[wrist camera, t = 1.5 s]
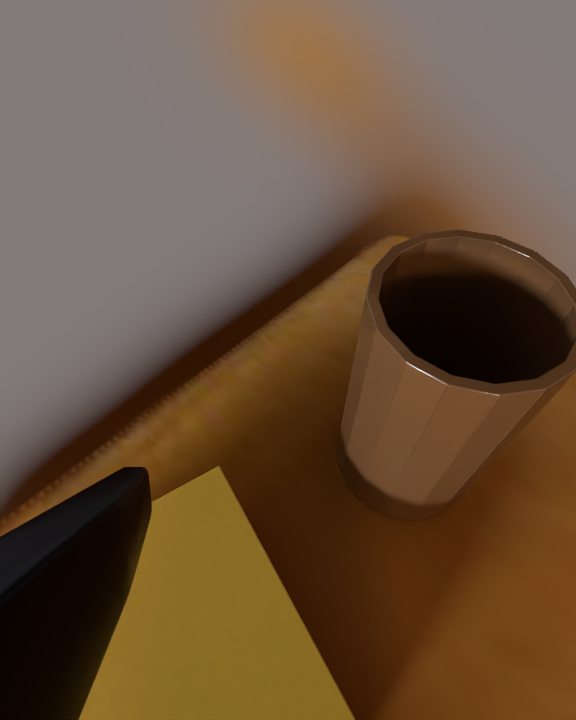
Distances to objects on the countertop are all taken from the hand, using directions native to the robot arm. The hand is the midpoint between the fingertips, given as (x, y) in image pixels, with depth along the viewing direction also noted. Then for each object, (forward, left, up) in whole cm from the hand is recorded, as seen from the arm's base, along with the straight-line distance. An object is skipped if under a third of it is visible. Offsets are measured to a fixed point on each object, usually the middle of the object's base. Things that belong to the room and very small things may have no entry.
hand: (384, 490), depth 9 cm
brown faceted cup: (+4, -7, -14) cm, 17 cm away
